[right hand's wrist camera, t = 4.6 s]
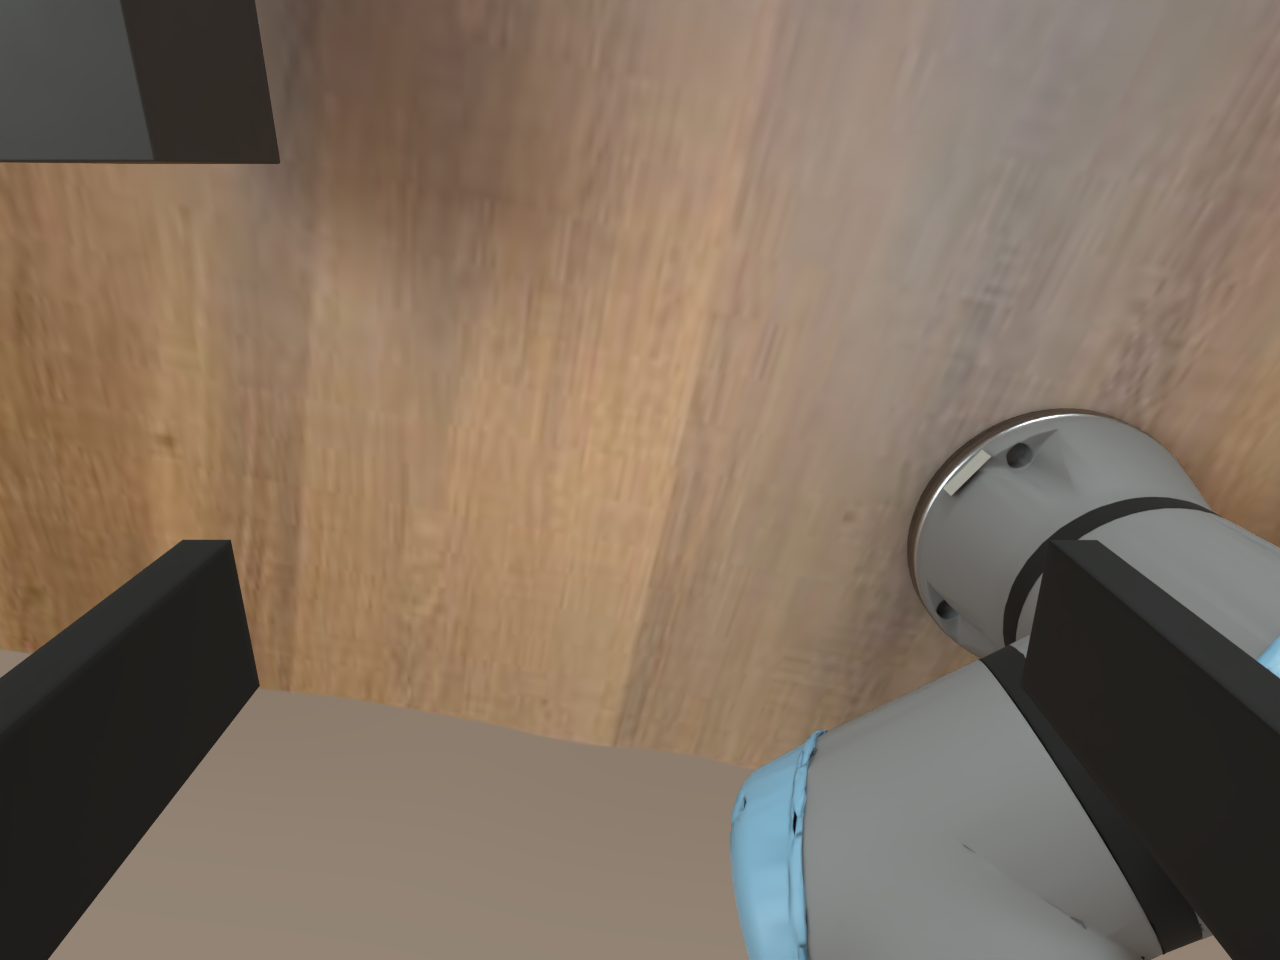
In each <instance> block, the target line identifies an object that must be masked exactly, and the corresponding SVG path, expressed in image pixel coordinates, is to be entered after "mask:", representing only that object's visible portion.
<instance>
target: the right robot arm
mask: <svg viewBox="0 0 1280 960" xmlns="http://www.w3.org/2000/svg"><path fill="white" fill-rule="evenodd" d="M907 556H908V566H909V572H910V576H911V580H912V583H913V586H914V588H915V591H916V593H917V595H918V597H919V599H920V600H921V602H922V604H923V605H924V607H925V608H926V610H927V611H928V613H929V614H930V616H931V617H932V618H933V620H934V621H935V622H936V624H937V625H938V626H939V627H940V628H941V629H942V630H943V631H944V632H945V633H946V634H947V635H948V636H949V637H950V638H951V639H953V640H954V641H955V642H956V643H957V644H959V645H960V646H961V647H963V648H964V649H966V650H967V651H969V652H970V653H972V654H974V655H976V656H978V657H979V658H981V659H978V660H975V661H973V662H971V663H970V664H968V665H966V666H964V667H962V668H960V669H958V670H956V671H953V672H951V673H949V674H947V675H945V676H943V677H941V678H939V679H937V680H935V681H932V682H930V683H928V684H926V685H924V686H922V687H920V688H918V689H916V690H914V691H912V692H909V693H907V694H905V695H903V696H901V697H899V698H897V699H895V700H893V701H891V702H889V703H886V704H884V705H882V706H880V707H878V708H876V709H874V710H872V711H870V712H868V713H865V714H863V715H861V716H859V717H857V718H855V719H853V720H851V721H849V722H847V723H845V724H842V725H840V726H838V727H836V728H834V729H832V730H830V731H826V730H824V729H822V730H819V731H816V732H814V733H812V734H811V735H810V736H809V737H808V739H807V740H806V742H805V743H804V744H802V745H801V746H799V747H797V748H795V749H793V750H791V751H790V752H788V753H786V754H784V755H782V756H780V757H779V758H777V759H775V760H773V761H771V762H769V763H768V764H766V765H764V766H762V767H760V768H759V769H757V770H756V771H755V772H753V773H752V774H751V775H750V776H749V777H748V778H747V780H746V781H745V782H744V784H743V785H742V787H741V789H740V791H739V793H738V795H737V798H736V801H735V805H734V808H733V813H732V830H731V833H730V856H731V870H732V879H733V886H734V893H735V899H736V905H737V910H738V915H739V920H740V925H741V929H742V934H743V938H744V942H745V946H746V949H747V953H748V957H749V960H1151V959H1153V958H1155V957H1158V956H1160V955H1162V954H1165V953H1167V952H1170V951H1172V950H1175V949H1177V948H1180V947H1183V946H1185V945H1187V944H1190V943H1193V942H1195V941H1198V940H1202V939H1205V938H1207V937H1209V936H1212V935H1214V937H1215V938H1216V939H1217V941H1218V942H1219V943H1220V944H1221V946H1222V947H1223V948H1224V950H1225V951H1226V952H1227V953H1228V955H1229V956H1230V957H1231V959H1232V960H1280V548H1279V547H1277V546H1275V545H1273V544H1271V543H1269V542H1268V541H1266V540H1264V539H1262V538H1260V537H1258V536H1256V535H1255V534H1253V533H1251V532H1249V531H1247V530H1245V529H1244V528H1242V527H1240V526H1238V525H1236V524H1235V523H1233V522H1231V521H1229V520H1227V519H1225V518H1223V517H1221V516H1220V515H1218V514H1216V513H1214V512H1213V510H1212V509H1211V508H1210V506H1209V505H1208V503H1207V502H1206V500H1205V499H1204V497H1203V496H1202V495H1201V493H1200V492H1199V490H1198V489H1197V487H1196V486H1195V485H1194V483H1193V482H1192V480H1191V479H1190V478H1189V476H1188V475H1187V473H1186V472H1185V470H1184V469H1183V468H1182V466H1181V465H1180V463H1179V462H1178V461H1177V460H1176V458H1175V457H1174V456H1173V455H1172V454H1171V453H1170V452H1169V451H1168V450H1167V449H1165V448H1164V447H1163V446H1162V445H1161V444H1160V443H1159V442H1157V441H1156V440H1155V439H1154V438H1152V437H1151V436H1150V435H1148V434H1146V433H1145V432H1143V431H1141V430H1140V429H1137V428H1135V427H1133V426H1131V425H1129V424H1127V423H1125V422H1123V421H1120V420H1118V419H1116V418H1114V417H1111V416H1108V415H1105V414H1102V413H1098V412H1094V411H1089V410H1081V409H1048V410H1042V411H1036V412H1031V413H1027V414H1023V415H1020V416H1017V417H1014V418H1011V419H1008V420H1006V421H1003V422H1001V423H999V424H997V425H995V426H992V427H991V428H989V429H987V430H985V431H983V432H982V433H980V434H978V435H977V436H975V437H974V438H973V439H971V440H970V441H968V442H967V443H966V444H964V445H963V446H962V447H961V448H959V449H958V450H957V451H956V452H955V453H954V454H953V455H952V456H951V457H950V458H949V459H948V460H947V461H946V462H945V463H944V464H943V465H942V466H941V467H940V469H939V470H938V471H937V472H936V473H935V475H934V476H933V478H932V479H931V480H930V482H929V483H928V485H927V487H926V488H925V490H924V492H923V493H922V495H921V498H920V500H919V502H918V504H917V506H916V509H915V512H914V514H913V517H912V521H911V525H910V529H909V536H908V546H907ZM259 686H260V685H259V680H258V675H257V670H256V665H255V660H254V655H253V650H252V645H251V640H250V635H249V630H248V625H247V620H246V615H245V610H244V605H243V600H242V594H241V589H240V584H239V579H238V574H237V569H236V564H235V559H234V554H233V549H232V544H231V540H182V541H181V542H179V543H178V544H177V545H176V546H174V547H173V548H172V549H170V550H169V551H168V552H166V553H165V554H164V555H162V556H161V557H160V558H158V559H157V560H156V561H154V562H153V563H152V564H150V565H149V566H148V567H146V568H145V569H144V570H142V571H141V572H140V573H139V574H137V575H136V576H135V577H133V578H132V579H131V580H129V581H128V582H127V583H125V584H124V585H123V586H121V587H120V588H119V589H117V590H116V591H115V592H113V593H112V594H111V595H109V596H108V597H107V598H106V599H104V600H103V601H102V602H100V603H99V604H98V605H96V606H95V607H94V608H92V609H91V610H90V611H88V612H87V613H86V614H84V615H83V616H82V617H80V618H79V619H78V620H76V621H75V622H74V623H72V624H71V625H70V626H69V627H67V628H66V629H65V630H63V631H62V632H61V633H59V634H58V635H57V636H55V637H54V638H53V639H51V640H50V641H49V642H47V643H46V644H45V645H43V646H42V647H41V648H39V649H38V650H37V651H35V652H34V653H33V654H32V655H30V656H29V657H28V658H26V659H25V660H24V661H22V662H21V663H20V664H18V665H17V666H16V667H14V668H13V669H12V670H10V671H9V672H8V673H6V674H5V675H4V676H3V677H1V678H0V960H48V959H49V957H50V956H51V955H52V953H53V952H54V951H55V950H56V948H57V947H58V946H59V944H60V943H61V942H62V941H63V939H64V938H65V937H66V935H67V934H68V933H69V931H70V930H71V929H72V928H73V926H74V925H75V924H76V922H77V921H78V920H79V919H80V917H81V916H82V915H83V913H84V912H85V911H86V909H87V908H88V907H89V906H90V904H91V903H92V902H93V900H94V899H95V898H96V897H97V895H98V894H99V893H100V891H101V890H102V889H103V888H104V886H105V885H106V884H107V882H108V881H109V880H110V878H111V877H112V876H113V875H114V873H115V872H116V871H117V869H118V868H119V867H120V866H121V864H122V863H123V862H124V860H125V859H126V858H127V856H128V855H129V854H130V853H131V851H132V850H133V849H134V847H135V846H136V845H137V844H138V842H139V841H140V840H141V838H142V837H143V836H144V835H145V833H146V832H147V831H148V829H149V828H150V827H151V825H152V824H153V823H154V822H155V820H156V819H157V818H158V816H159V815H160V814H161V813H162V811H163V810H164V809H165V807H166V806H167V805H168V803H169V802H170V801H171V800H172V798H173V797H174V796H175V794H176V793H177V792H178V791H179V789H180V788H181V787H182V785H183V784H184V783H185V781H186V780H187V779H188V778H189V776H190V775H191V774H192V772H193V771H194V770H195V769H196V767H197V766H198V765H199V763H200V762H201V761H202V760H203V758H204V757H205V756H206V754H207V753H208V752H209V750H210V749H211V748H212V747H213V745H214V744H215V743H216V741H217V740H218V739H219V738H220V736H221V735H222V734H223V732H224V731H225V730H226V728H227V727H228V726H229V725H230V723H231V722H232V721H233V719H234V718H235V717H236V716H237V714H238V713H239V712H240V710H241V709H242V708H243V706H244V705H245V704H246V703H247V701H248V700H249V699H250V697H251V696H252V695H253V694H254V692H255V691H256V690H257V688H258V687H259Z"/></svg>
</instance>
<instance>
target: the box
mask: <svg viewBox="0 0 1280 960" xmlns="http://www.w3.org/2000/svg"><path fill="white" fill-rule="evenodd" d="M0 162H27V163H116V164H279V163H280V158H279V152H278V145H277V139H276V133H275V126H274V120H273V114H272V107H271V101H270V94H269V88H268V82H267V75H266V69H265V63H264V56H263V50H262V44H261V37H260V31H259V25H258V18H257V12H256V6H255V0H0Z"/></svg>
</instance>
